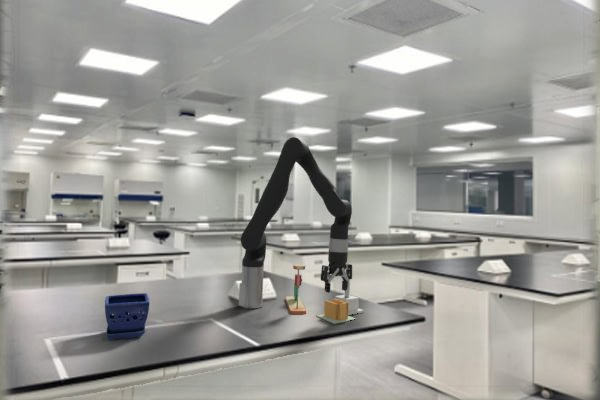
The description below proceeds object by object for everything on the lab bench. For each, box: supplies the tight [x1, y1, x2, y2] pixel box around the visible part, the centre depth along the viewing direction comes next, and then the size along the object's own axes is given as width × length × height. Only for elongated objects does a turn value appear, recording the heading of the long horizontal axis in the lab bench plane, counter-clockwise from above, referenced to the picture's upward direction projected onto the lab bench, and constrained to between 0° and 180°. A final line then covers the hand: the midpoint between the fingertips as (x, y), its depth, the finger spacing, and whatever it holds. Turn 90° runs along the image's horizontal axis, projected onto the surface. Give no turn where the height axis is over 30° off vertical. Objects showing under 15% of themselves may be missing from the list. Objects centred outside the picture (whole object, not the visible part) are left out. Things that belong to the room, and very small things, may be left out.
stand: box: [334, 279, 365, 316], centre depth 169 cm, size 10×10×14 cm
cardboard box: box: [323, 298, 349, 321], centre depth 158 cm, size 5×8×6 cm
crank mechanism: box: [284, 263, 307, 315], centre depth 174 cm, size 25×7×19 cm, turn 7°
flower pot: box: [104, 292, 150, 341], centre depth 131 cm, size 13×13×12 cm
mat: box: [316, 313, 357, 325], centre depth 158 cm, size 11×11×1 cm
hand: (336, 291), depth 158 cm, fingers open, 8 cm apart
